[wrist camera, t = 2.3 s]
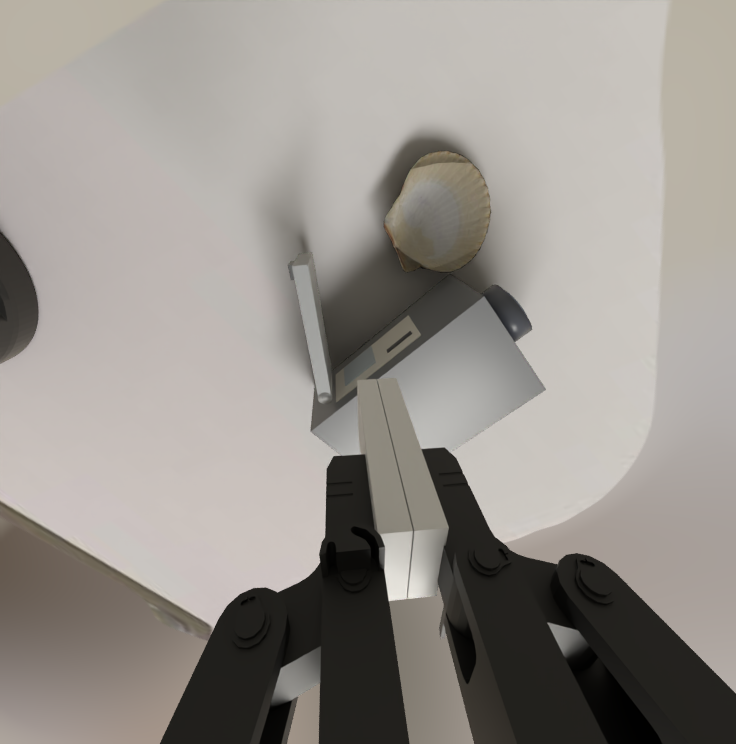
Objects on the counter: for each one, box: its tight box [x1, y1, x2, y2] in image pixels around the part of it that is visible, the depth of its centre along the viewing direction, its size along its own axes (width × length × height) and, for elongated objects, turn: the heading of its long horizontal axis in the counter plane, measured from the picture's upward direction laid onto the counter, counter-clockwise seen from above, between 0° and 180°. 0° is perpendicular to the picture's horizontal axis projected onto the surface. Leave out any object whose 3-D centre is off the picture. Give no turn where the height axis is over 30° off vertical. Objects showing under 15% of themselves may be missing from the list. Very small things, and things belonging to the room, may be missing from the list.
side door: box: [288, 252, 332, 404], centre depth 25 cm, size 2×11×5 cm, turn 5°
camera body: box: [311, 274, 546, 456], centre depth 28 cm, size 10×18×8 cm, turn 130°
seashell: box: [384, 151, 491, 273], centre depth 24 cm, size 8×3×8 cm
